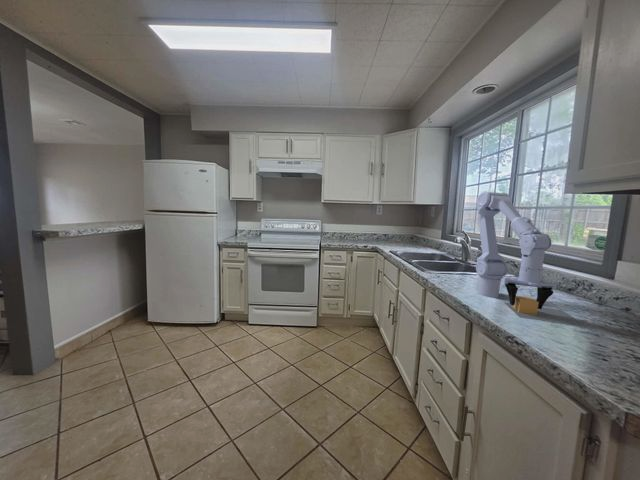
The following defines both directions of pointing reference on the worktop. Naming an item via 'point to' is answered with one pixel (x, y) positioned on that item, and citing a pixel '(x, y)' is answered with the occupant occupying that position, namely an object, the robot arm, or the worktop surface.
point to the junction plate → (550, 316)
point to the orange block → (526, 305)
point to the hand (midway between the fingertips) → (524, 306)
